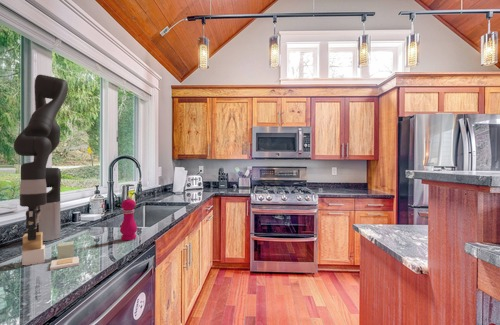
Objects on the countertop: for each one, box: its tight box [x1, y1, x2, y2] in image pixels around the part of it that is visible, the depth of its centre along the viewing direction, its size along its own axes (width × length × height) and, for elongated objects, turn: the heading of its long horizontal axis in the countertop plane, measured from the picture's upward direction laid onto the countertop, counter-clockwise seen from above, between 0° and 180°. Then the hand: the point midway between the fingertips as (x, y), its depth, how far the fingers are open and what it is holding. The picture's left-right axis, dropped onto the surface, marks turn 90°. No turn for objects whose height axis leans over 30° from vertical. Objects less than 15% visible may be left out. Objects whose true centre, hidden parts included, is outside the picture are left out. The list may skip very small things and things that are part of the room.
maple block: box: [22, 232, 44, 251], centre depth 98 cm, size 5×5×5 cm
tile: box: [49, 255, 80, 271], centre depth 95 cm, size 8×8×1 cm
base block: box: [21, 244, 46, 266], centre depth 98 cm, size 6×6×5 cm
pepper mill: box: [119, 195, 138, 242], centre depth 127 cm, size 7×7×20 cm
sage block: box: [57, 240, 75, 260], centre depth 103 cm, size 5×5×5 cm
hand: (33, 237), depth 98 cm, fingers open, 8 cm apart
